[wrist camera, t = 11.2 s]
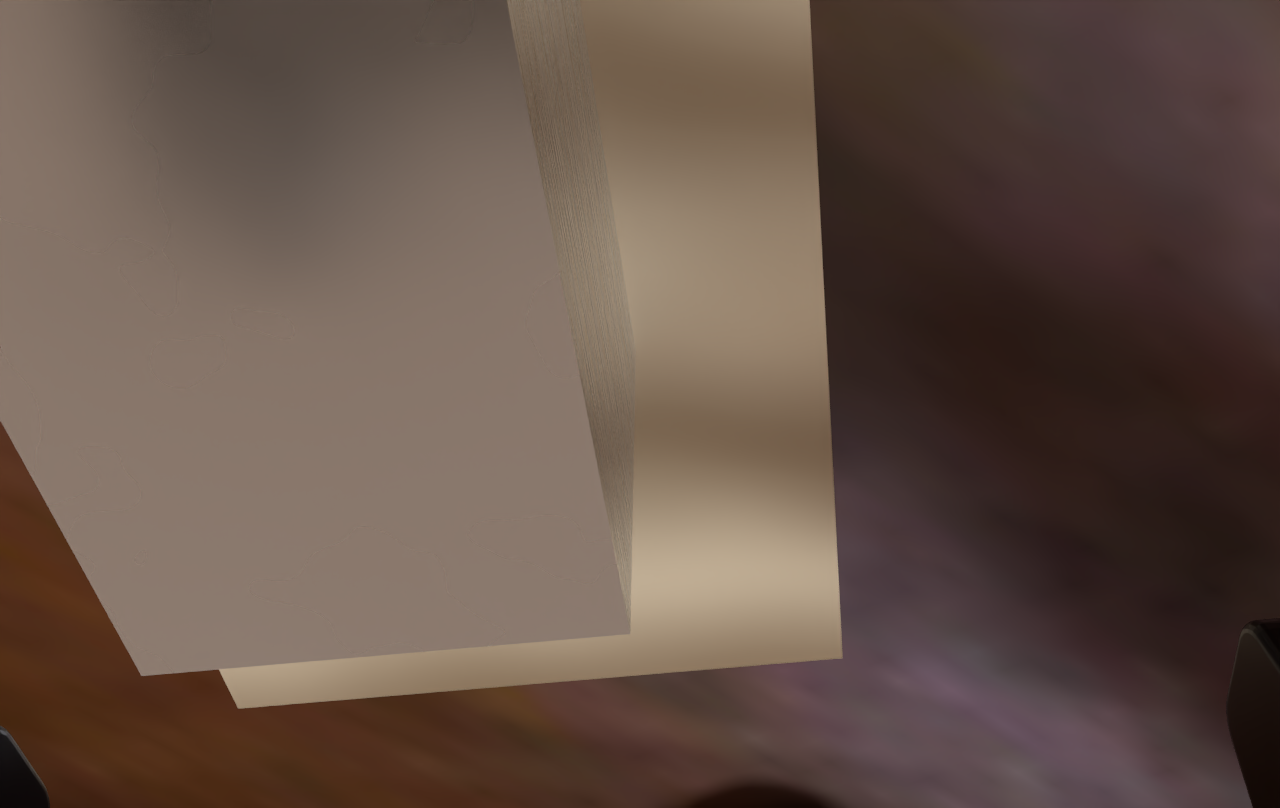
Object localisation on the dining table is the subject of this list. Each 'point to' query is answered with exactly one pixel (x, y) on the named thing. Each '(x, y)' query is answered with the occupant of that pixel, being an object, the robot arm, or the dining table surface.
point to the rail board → (690, 365)
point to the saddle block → (318, 322)
